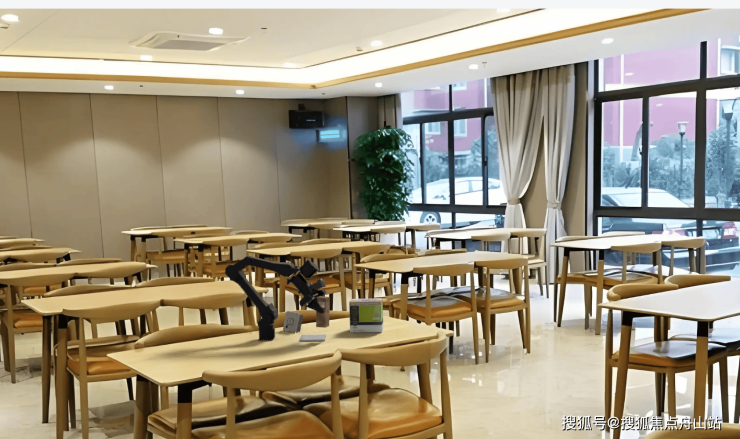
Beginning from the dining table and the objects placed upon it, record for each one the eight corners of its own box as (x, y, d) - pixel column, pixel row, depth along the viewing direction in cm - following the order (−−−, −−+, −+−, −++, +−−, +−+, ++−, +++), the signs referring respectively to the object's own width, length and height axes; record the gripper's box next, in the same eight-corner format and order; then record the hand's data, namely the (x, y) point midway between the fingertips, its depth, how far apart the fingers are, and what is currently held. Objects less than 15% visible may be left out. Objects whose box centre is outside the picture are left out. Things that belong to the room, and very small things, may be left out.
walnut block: (315, 327, 314) (316, 297, 314) (319, 325, 319) (320, 296, 318) (324, 327, 313) (325, 298, 312) (329, 326, 317) (329, 296, 317)
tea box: (383, 328, 341) (383, 297, 341) (381, 333, 331) (381, 301, 331) (352, 328, 343) (351, 298, 342) (349, 333, 333) (348, 301, 332)
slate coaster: (299, 341, 316) (299, 339, 315) (301, 336, 326) (301, 334, 326) (324, 341, 316) (324, 339, 316) (326, 336, 327) (326, 334, 327)
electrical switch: (282, 330, 341) (283, 311, 341) (290, 330, 345) (291, 310, 345) (295, 333, 335) (296, 313, 335) (303, 332, 338) (304, 312, 339)
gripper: (305, 276, 307) (329, 303, 304) (322, 271, 325) (345, 296, 322) (289, 293, 310) (312, 320, 307) (306, 287, 328) (328, 313, 325)
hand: (325, 312), depth 315 cm, fingers closed on walnut block, 5 cm apart
